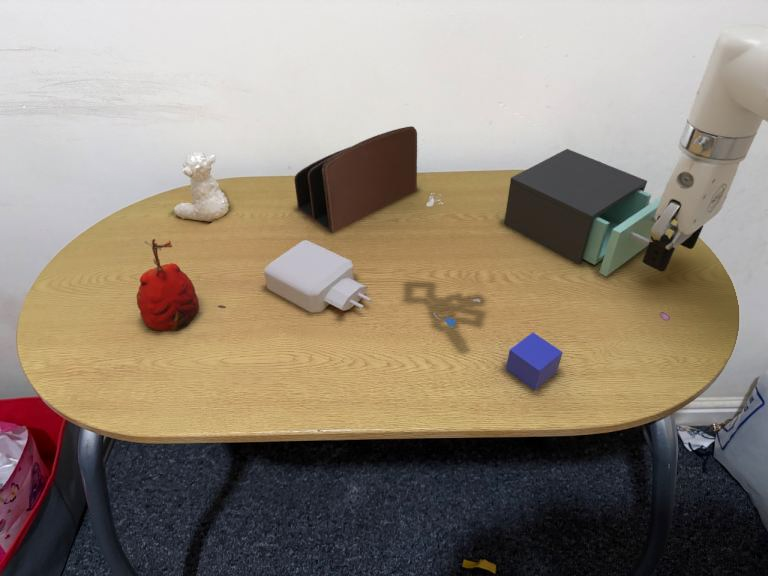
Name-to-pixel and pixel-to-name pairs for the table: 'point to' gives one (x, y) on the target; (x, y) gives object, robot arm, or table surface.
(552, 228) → the housing
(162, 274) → the red lumpy rounded piece
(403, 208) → the table surface
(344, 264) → the charger
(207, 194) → the sitting furry creature
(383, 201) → the letter holder
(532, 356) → the cube
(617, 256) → the mint green drawer
